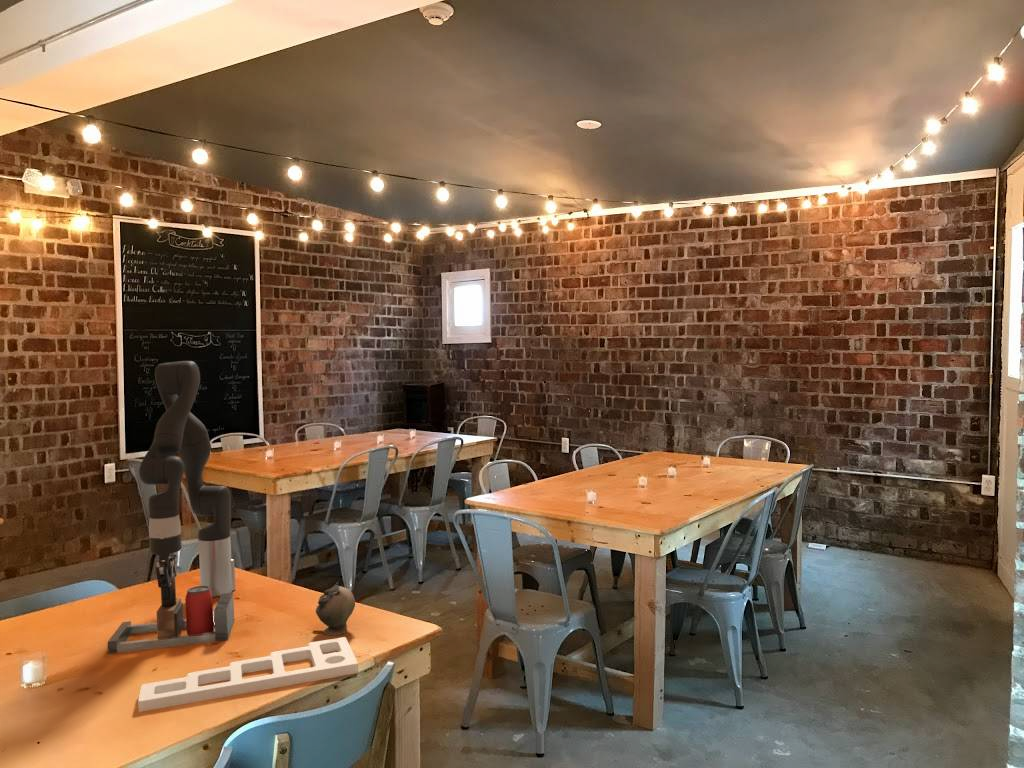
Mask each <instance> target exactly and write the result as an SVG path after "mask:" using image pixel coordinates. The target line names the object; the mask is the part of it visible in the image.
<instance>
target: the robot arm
mask: <svg viewBox="0 0 1024 768" xmlns="http://www.w3.org/2000/svg"><path fill="white" fill-rule="evenodd" d="M154 378H155V384H156V387H157V390H158V393H159V396H160V398H161V400H162V403H163V406H164V408H165V412H164V413H163V414H162V415H161V417H160V418H159V420H158V421H157V423H156V426H155V430H154V435H153V439H152V443H151V445H150V447H149V449H148V451H147V452H146V454H145V456H144V457H143V458H142V461H141V462H140V465H139V470H138V475H139V479H140V480H141V482H142V483H144V484H145V485H149V486H151V485H153V486H155V485H168V486H167V489H166V490H165V491H162V492H157V493H153V494H152V495H150V496H149V498H148V516H149V522H148V535H149V537H148V539H149V553H151V554H152V555H155V556H156V555H158V560H156V567H155V573H156V577H157V578H156V579H157V586H158V588H160V595H161V594H162V602H169V601H171V599H172V598H171V578H172V577H173V573H175V578H176V577H177V558H178V555H177V554H176V553H177V552H180V551H181V550H182V548H183V547H182V545H183V543H182V529H181V528H182V526H181V525H182V524H181V519H180V508H179V505H180V504H179V503H180V502H179V500H180V499H179V498H180V491H181V485H182V482H183V478H184V477H185V483H186V487H187V493H188V498H189V499H188V501H189V503H190V508H191V510H192V513H193V514H194V515H195V516H198V517H214V521H213V522H212V523H211V524H209V525H207V526H203V527H201V528H200V529H199V530H198V535H197V537H198V540H197V541H198V557H199V561H198V562H199V580H200V581H199V582H200V585H199V586H208V587H210V591H211V593H212V598H215V597H220V596H221V594H224V593H233V591H235V590H236V573H235V572H236V571H235V559H233V558H232V546H231V543H232V542H231V526H232V497H231V492H230V490H229V487H228V486H226V485H205V483H204V480H203V471H204V469H205V466H206V465H207V462H208V460H209V458H210V456H211V452H212V444H211V439H210V437H209V433H208V429H207V428H206V426H205V424H203V422H202V421H201V420H200V419H199V418H198V417H196V416H195V415H194V414H193V413H192V412H191V410H192V407H193V406H194V405H193V404H194V402H195V399H196V397H197V393H198V391H199V388H200V384H201V373H200V369H199V366H198V365H197V363H196V362H195V361H192V360H181V361H172V362H171V361H170V362H163V363H159V364H157V366H156V367H155V369H154ZM177 454H178V455H179V456H176V455H177ZM168 573H170V574H169V575H168ZM163 580H166V582H163Z"/></svg>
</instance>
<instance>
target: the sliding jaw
mask: <svg viewBox="0 0 1024 768" xmlns="http://www.w3.org/2000/svg"><path fill="white" fill-rule="evenodd" d="M169 574H170V573H168V575H169ZM163 582H166V580H163ZM176 590H177V588H176V577H175V573H173V577H172V578H171V598H172V599H171V601H169V602H162V594H161V593H160V599H161V601H160V602H161V604H160V606H159V607H158V609H157V611H156V622H157V638H164V637H173V636H180V633H181V631H182V627H183V626H184V618H185V616H184V615H185V614H184V602H182V598H180V597H179V598H177V591H176Z"/></svg>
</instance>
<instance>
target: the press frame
mask: <svg viewBox="0 0 1024 768" xmlns="http://www.w3.org/2000/svg"><path fill="white" fill-rule="evenodd" d="M234 604H235V603H234V592H231V593H224V594H221V596H219V599H218V600H217V603H216V605H215V608H214V609H213V616H214V622H215V625H214V631H213V632H210V633H201V634H191V635H187V634H184V635H183V634H182V635H178V636H173V637H164V638H158V637H156V638H148V639H138V640H137V639H136V640H129V641H127V639H128V638H129V637H130V635H137V634H146V633H158V631H157V621H156V622H149V623H147V622H146V623H138V624H132V621H123V622H121V624H120V625H119V626H118V627H117V629H116V630H115V631H114V633H113V634H112V635H111V636H110V638H109V639H108V640H107V654H108V655H110V654H116V653H117V654H119V653H126V652H128V653H129V652H134V651H143V650H144V651H146V650H152V649H161V648H172V647H179V646H188V645H189V646H190V645H199V644H206V643H207V644H208V643H215V642H216V643H217V642H225V641H229V639H230V635H231V632H232V630H233V627H234V624H235V605H234ZM182 629H187V623H186V618H185V619H184V626H183V627H182ZM182 629H181V630H182Z"/></svg>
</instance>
